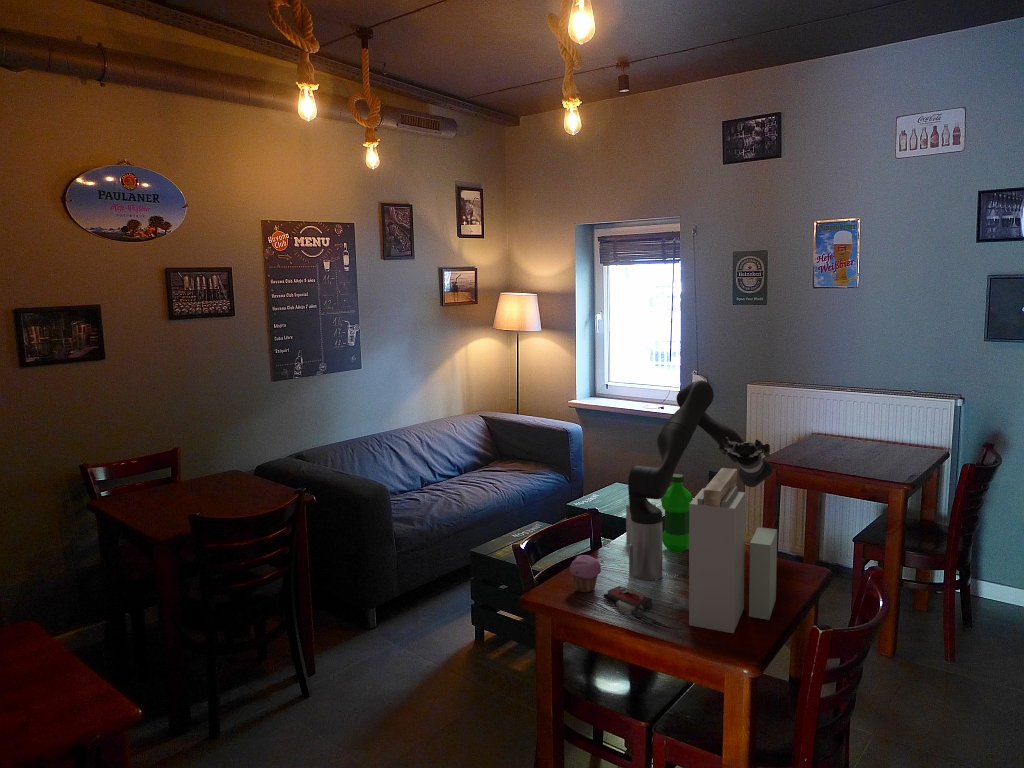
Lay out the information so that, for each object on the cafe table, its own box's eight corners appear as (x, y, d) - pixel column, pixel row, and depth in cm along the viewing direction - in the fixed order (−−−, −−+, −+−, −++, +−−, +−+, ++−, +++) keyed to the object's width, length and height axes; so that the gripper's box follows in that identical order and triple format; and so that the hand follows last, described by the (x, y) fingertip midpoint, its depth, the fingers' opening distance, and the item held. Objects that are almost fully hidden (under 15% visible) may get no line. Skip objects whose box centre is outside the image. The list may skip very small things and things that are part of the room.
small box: (638, 546, 239) (638, 509, 238) (625, 541, 244) (625, 504, 243) (656, 541, 244) (656, 504, 242) (643, 536, 249) (643, 500, 247)
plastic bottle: (698, 548, 236) (699, 474, 232) (681, 558, 228) (682, 481, 225) (672, 542, 243) (672, 469, 239) (654, 550, 235) (654, 476, 232)
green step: (749, 616, 187) (750, 542, 184) (756, 596, 199) (757, 527, 196) (769, 619, 185) (770, 545, 182) (775, 599, 196) (777, 529, 194)
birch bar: (703, 505, 177) (703, 489, 177) (721, 481, 198) (721, 467, 197) (720, 507, 176) (720, 491, 175) (736, 483, 196) (736, 469, 195)
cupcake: (579, 581, 213) (578, 548, 211) (606, 587, 208) (605, 554, 207) (565, 592, 205) (564, 558, 204) (592, 598, 201) (592, 564, 199)
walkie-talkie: (597, 602, 199) (652, 628, 183) (597, 587, 198) (652, 611, 183) (619, 593, 204) (675, 617, 188) (619, 579, 204) (675, 601, 188)
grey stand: (689, 625, 183) (689, 497, 179) (702, 601, 196) (702, 482, 192) (733, 633, 178) (734, 502, 174) (743, 608, 192) (745, 486, 187)
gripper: (726, 444, 227) (717, 427, 214) (774, 447, 221) (768, 430, 207) (724, 467, 225) (715, 451, 211) (772, 471, 218) (765, 455, 205)
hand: (741, 441), depth 209 cm, fingers open, 8 cm apart
